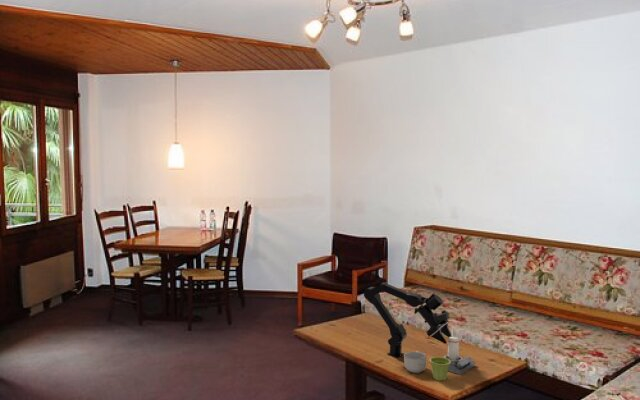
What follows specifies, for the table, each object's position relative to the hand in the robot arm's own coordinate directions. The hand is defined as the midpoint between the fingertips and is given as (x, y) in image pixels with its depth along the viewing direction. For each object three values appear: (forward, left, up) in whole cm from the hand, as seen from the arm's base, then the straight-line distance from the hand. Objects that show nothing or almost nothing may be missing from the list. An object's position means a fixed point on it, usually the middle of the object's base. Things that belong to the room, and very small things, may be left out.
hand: (448, 340), depth 271 cm
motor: (0, -4, -12) cm, 13 cm away
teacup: (-17, +9, -13) cm, 23 cm away
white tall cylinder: (0, -2, -10) cm, 11 cm away
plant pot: (-19, -5, -13) cm, 23 cm away
